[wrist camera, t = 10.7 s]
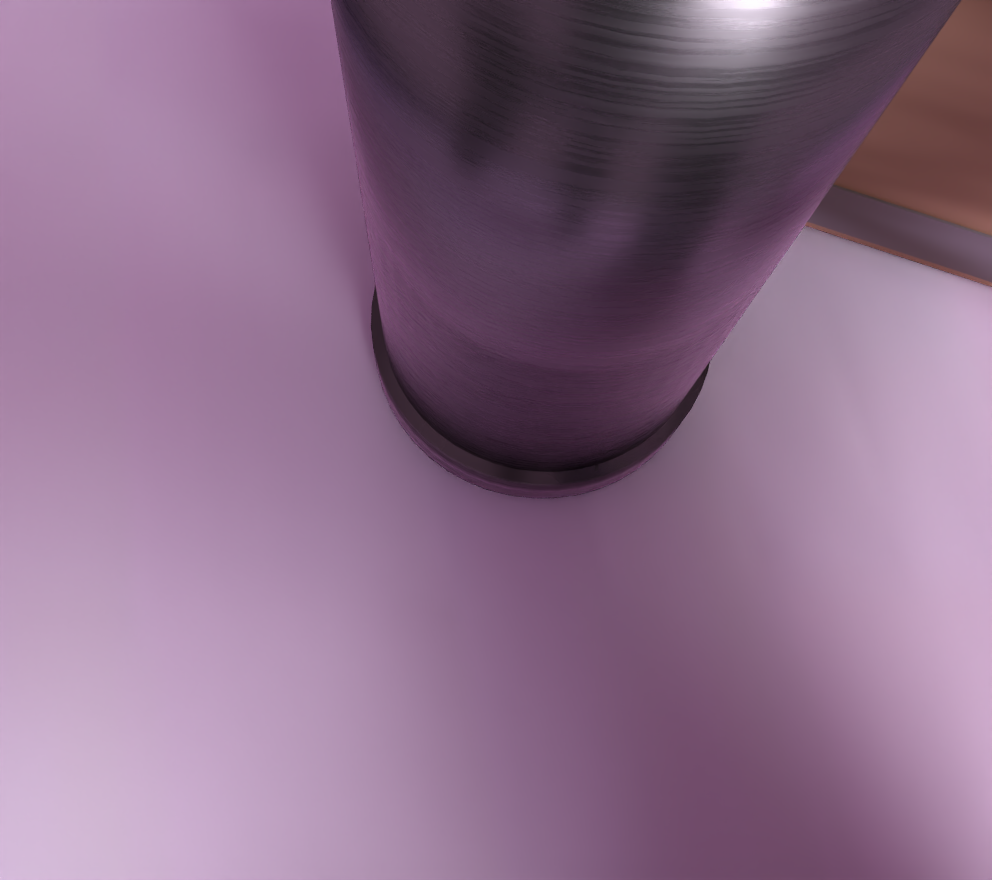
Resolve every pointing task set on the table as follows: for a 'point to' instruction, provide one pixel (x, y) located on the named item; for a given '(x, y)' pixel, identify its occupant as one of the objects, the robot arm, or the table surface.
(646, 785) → the table surface
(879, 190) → the door
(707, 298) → the dark metallic tumbler
